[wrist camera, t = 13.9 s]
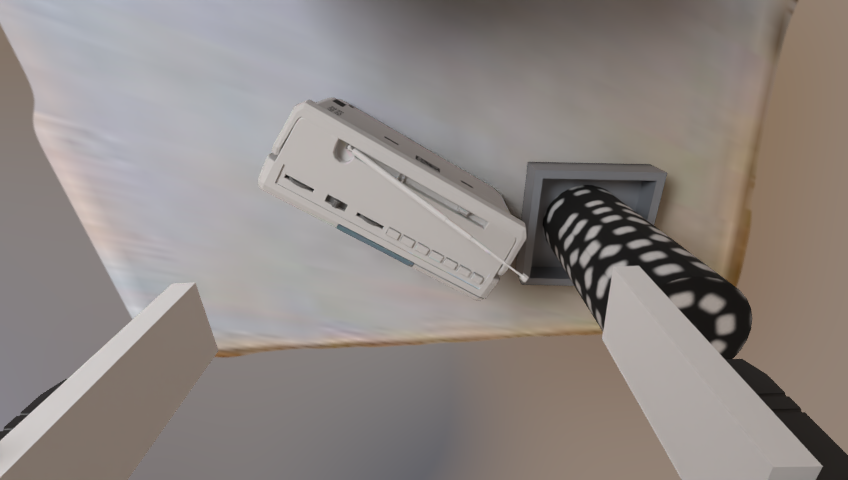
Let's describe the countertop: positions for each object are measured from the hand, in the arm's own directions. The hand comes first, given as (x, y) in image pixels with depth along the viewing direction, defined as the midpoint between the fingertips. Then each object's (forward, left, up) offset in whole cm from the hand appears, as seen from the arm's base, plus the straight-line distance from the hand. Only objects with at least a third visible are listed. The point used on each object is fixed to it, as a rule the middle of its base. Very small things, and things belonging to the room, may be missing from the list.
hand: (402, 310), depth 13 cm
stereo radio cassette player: (+4, -2, -32) cm, 32 cm away
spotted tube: (+8, +17, -31) cm, 37 cm away
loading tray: (+9, +17, -32) cm, 37 cm away
